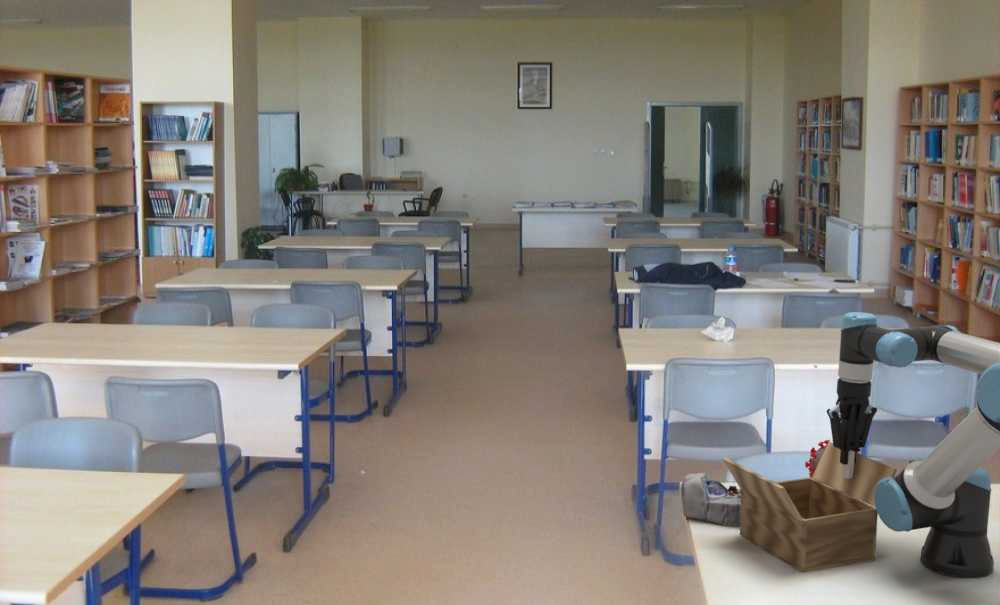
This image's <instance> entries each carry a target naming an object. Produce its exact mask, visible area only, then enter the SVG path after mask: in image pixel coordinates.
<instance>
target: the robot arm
mask: <svg viewBox="0 0 1000 605" xmlns="http://www.w3.org/2000/svg"><path fill="white" fill-rule="evenodd" d="M877 321H878V320H877V316H876V315H874V314H873V313H869V312H862V311H861V312H860V311H852V312H847V313H845V314H844V315H843V317H842V323H841V329H840V342H839V343H840V345H839V358H838V359H839V360H838V361H839V362H838V369H837V370H838V372H837V376H838V377H839V378H838V379H837V383H836V395H837V400H836V402H835V406H833V407H832V408H828V409H827V410H826V414H827V415H828V418H829V423H830V429H831V436H832V443H833V446H834V447H836V448H838V449H840V451H841V452H840V463H842V465H841V476H843V477H845V478H847V479H852V478H853V469H854V463H856V457H857V452H859V453H860V452H861V451H862V449H861V448H865V446H866V443H867V440H868V436H869V433H870V429H871V426H872V424H873V420H874V416H876V414H877V411H878V408H877V407H874V406H872V405H871V404H870V400H869V398H870V397H871V394H872V392H871V391H872V382H871V380H872V379H873V370H874V368H873V367H874V361H876V362H879V363H881V364H883V365H886V366H888V367H895V368H899V369H901V368H906V367H908V366H909V365H910V364H912V363H913V362H922V361H935V362H937V363H940V364H941V363H942V364H944V365H948V366H952V367H955V368H959V369H961V370H965V371H969V372H971V373H975V374H979V375H980V378H979V379H978V382H977V387H978V389H977V390H976V394H975V395H976V397H975V405H976V406H975V407H974V408H973V409H972V410H971V412H970V413H969V414H968V415H966V416H965V417H964V419H962V421H960V422H959V424H957V425H956V426H955V427H954V429H953V430H951V431H950V432H949V434H948V435H947V436H946V437H945V438H943V440H941V442H940V443H939V444H937V446H935V447H934V449H932V451H931V452H929V454H928V455H927V456H926V457H925V458H924V459H923V460H915V461H912V462H910V463H909V464H907V465H906V466H905V468H903V470H901V471H900V472H899V473H898V474H897V475H894V477H886V478H884V479H881V480H880V481H879V482H878V483H877V485H876V487H875V490H874V499H875V507H876V510H877V513H878V517H879V518H880V520H881V522H882V523H883V524H884V525H885V526H886V527H887V528H888V529H889V530H891V531H894V532H907V533H908V532H910V531H913V530H914V531H915V530H920V529H926V528H929V531H928V533H927V536H926V538H925V541H924V543H923V544H924V545H922V546H921V549H920V557H919V558H920V559H919V560H920V563H921V564H922V565H923V566H924V567H926V568H927V569H929V570H931V571H934V572H936V573H938V574H939V573H940V574H943V575H946V576H951V577H955V578H956V577H957V578H965V579H967V578H968V579H969V578H970V579H971V578H982V577H986V576H989V575H990V574H993V571H994V563H995V562H994V556H993V555H992V551H991V546H990V542H989V538H988V526H989V516H990V503H991V494H992V493H991V492H992V488H991V486H992V485H991V482H992V481H991V475H990V473H989V472H988V471H987V470H986V469H984V468H982V466H983V465H984V464H985V463H986V462H987V461H989V459H991V458H992V456H993V455H994V454H996V453H997V452H998V451H999V450H1000V342H996V341H993V340H990V339H985V338H981V337H978V336H974V335H970V334H966V333H963V332H961V331H959V330H958V328H956V327H955V326H952V325H943V324H937V325H936V324H935V325H931V326H922V327H919V326H918V327H908V328H896V329H895V328H894V329H890V328H889V329H888V328H884V327H881V326H877V325H878V322H877ZM875 507H874V508H875Z"/></svg>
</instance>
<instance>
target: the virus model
mask: <svg viewBox="0 0 1000 605" xmlns="http://www.w3.org/2000/svg"><path fill="white" fill-rule="evenodd" d="M829 441H830V442H831V440H830V439H825V440H824V441H819V442H818V444H817V445H818V446H819V448H818V449H817V450H816V447H815V446H813V447H811V449H810V455H809V457H810V458H809V460H808V461H805V462H804V466H805V468H806V469H808V472H809V473H808V475H809V477H808V478H810V477H811V478H812V476H813V474H814V472H815V470H816V468H817V466H818V464H819V461H820V459H821V457H822V455H823V453H824V451H825V449H826V447H827V444H828V442H829ZM824 444H825V445H824ZM857 453H858V454H860V452H857ZM813 479H814V478H813ZM815 480H816V479H815ZM817 481H818V480H817ZM824 484H825V483H824ZM826 485H827V484H826ZM828 486H829V485H828ZM830 487H831V486H830ZM832 488H833V487H832ZM834 489H835V488H834ZM836 490H837V489H836ZM843 493H844V492H843Z"/></svg>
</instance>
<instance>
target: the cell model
mask: <svg viewBox="0 0 1000 605" xmlns="http://www.w3.org/2000/svg"><path fill="white" fill-rule="evenodd" d="M680 494H681V495H680V496H681V499H680V500H681V507H682V513H683V514H682V515H683V516H684V517H685V518H690V519H697V520H701V521H707V522H709V523H714V524H718V525H725V526H738V527H740V514H741V489H740V488H737V486H736V485H730V486H729V487H728V488H727V487H726V486H725V485H724V484H722V482H720V480H715V479H709V478H708V476H707V474H706V473H705V472H697V473H696V472H695V473H689V474H687V475H686V476H685V477H684V479H683V480H682V482H681V486H680Z"/></svg>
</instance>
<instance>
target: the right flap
mask: <svg viewBox="0 0 1000 605" xmlns="http://www.w3.org/2000/svg"><path fill="white" fill-rule="evenodd" d="M840 452H841V451H840V449H838V448H836V447H834V446H833V441H831V440H830V441H829V442H828V444H827V447H826V449H825V451H824V453H823V455H822V457H821V459H820V461H819V464H818V466H817V468H816V470H815V472H814V474H813V476H812V478H814V479H816V480H818V481H820V482H822V483H825V484H827V485H829V486H831V487H833V488H835V489H837V490H839V491H841V492H844V493H845V494H847V495H849V496H851V497H853V498H855V499H858V500H860V501H862V502H864V503H866V504H868V505H870V506H872V507H874V508H876V507H875V499H874V490H875V487H876V485H877V483H878V482H879V481H880V480H881V479H884V478H886V477H895V476H896V474H897V473H896V472H897V471H898V470H897V468H895V467H893V466H890V465H887V464H885V463H883V462H880V461H877V460H875V459H873V458H870V457H868V456H866V455H863V454H861V453H859V454H858V453H857V457H856V463H854V469H853V478H852V479H847V478H845V477H843V476H841V465H842V463H840Z"/></svg>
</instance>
